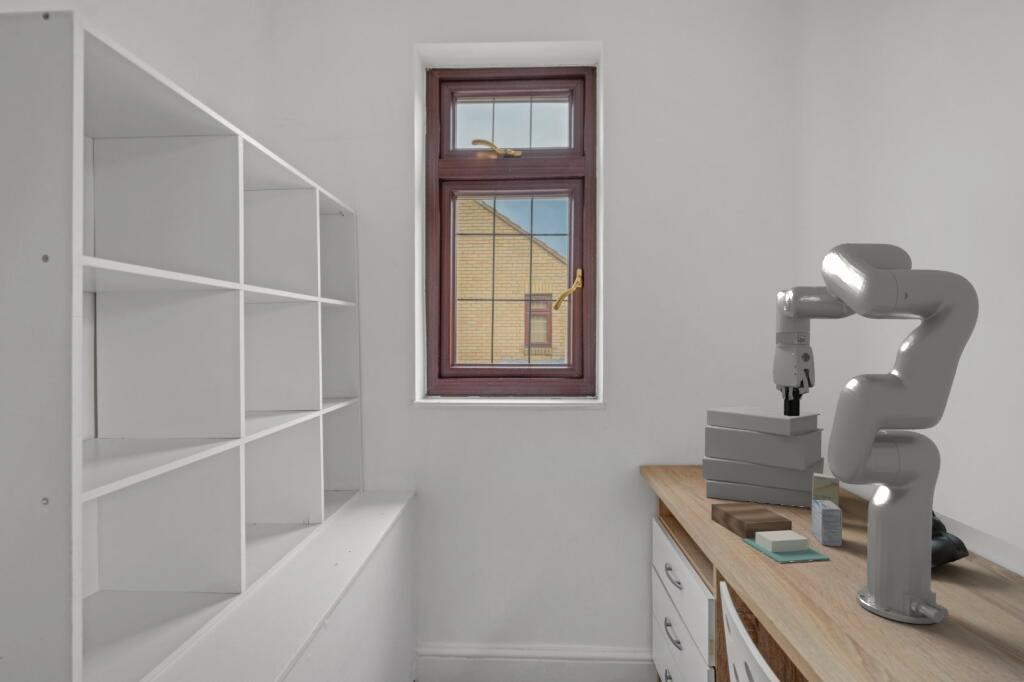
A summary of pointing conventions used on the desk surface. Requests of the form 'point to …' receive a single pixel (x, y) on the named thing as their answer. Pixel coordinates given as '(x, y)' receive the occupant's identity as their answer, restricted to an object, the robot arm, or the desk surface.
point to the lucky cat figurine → (945, 545)
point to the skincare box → (825, 488)
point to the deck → (748, 519)
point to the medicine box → (827, 522)
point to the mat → (788, 553)
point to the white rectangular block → (781, 541)
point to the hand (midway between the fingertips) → (791, 415)
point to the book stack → (761, 455)
